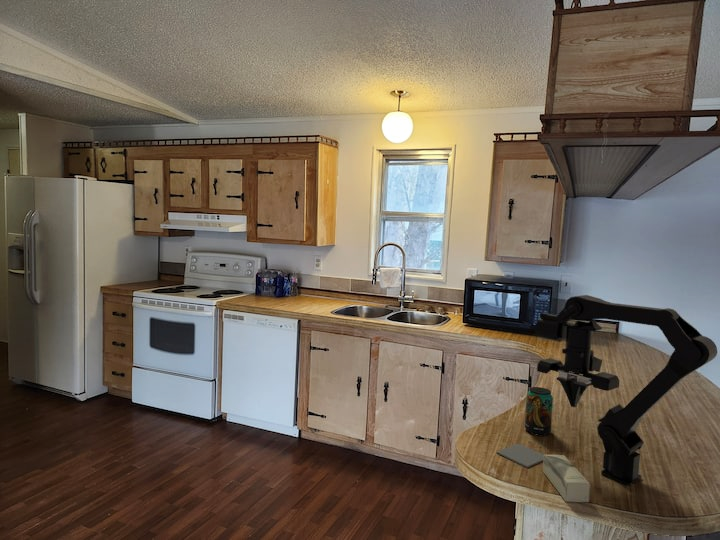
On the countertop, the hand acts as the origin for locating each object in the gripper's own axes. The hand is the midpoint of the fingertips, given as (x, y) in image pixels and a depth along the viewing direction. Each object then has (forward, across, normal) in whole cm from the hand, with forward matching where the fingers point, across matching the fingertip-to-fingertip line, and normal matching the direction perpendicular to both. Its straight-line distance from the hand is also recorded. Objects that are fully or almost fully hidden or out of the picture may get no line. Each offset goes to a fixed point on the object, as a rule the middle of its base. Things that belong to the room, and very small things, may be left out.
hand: (573, 406), depth 120 cm
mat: (+13, +7, +10) cm, 18 cm away
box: (+11, -2, +11) cm, 16 cm away
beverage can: (+13, +14, -7) cm, 21 cm away
